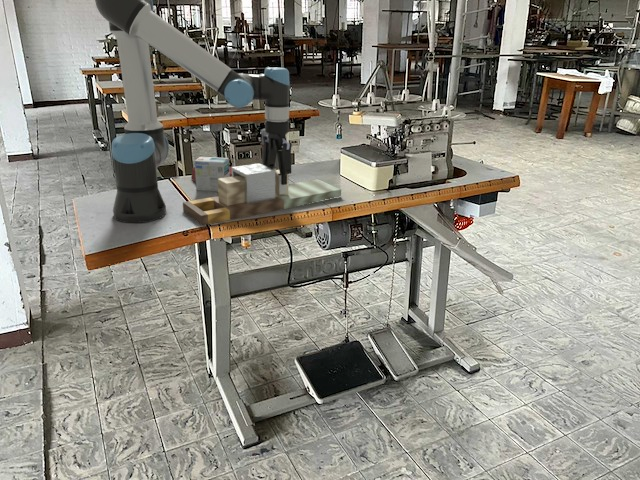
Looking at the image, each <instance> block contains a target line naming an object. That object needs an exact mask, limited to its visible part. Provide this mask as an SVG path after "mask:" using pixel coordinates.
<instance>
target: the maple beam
mask: <svg viewBox="0 0 640 480" xmlns="http://www.w3.org/2000/svg"><path fill="white" fill-rule="evenodd" d="M278 174H280V171H279V170H275V197H278V196H284V195H288V184H289V176H290V174H287V193H286V194H280V195H279V194H278ZM217 192H218V197H219V201H221V202H222V203H224V204H225V205H227V206H229V205H234V204H240V203H245V202H246V191H245V177H244V176H242V175H239V176H233V177H226V178H219V179H218V191H217Z"/></svg>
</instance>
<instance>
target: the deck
mask: <svg viewBox="0 0 640 480" xmlns="http://www.w3.org/2000/svg"><path fill="white" fill-rule="evenodd" d="M339 196H341V197H342V189H340V188H339V187H336V186H334V185H332V184H329V183H327V182H325V181H322V180H320V179H318V178H317V179H312V180H305V181H299V182H294V183H288V195H284V196H278V197H275V200H270V201H264V202H259V203H253V204H248V205H247V204H246V202H245V203H240V204H234V205H229V206H227V205H225V204H224V203H222V202H221V201H219V197H218V196H212V197H206V198H205V197H204V198H198V199H194V200H188V201H183V202H182V210H183V213H185V214H186V215H187V216H189V217H190V218H192V219H193V220H194V221H196V222H197V223H198V224H199V225H201V226H206V225H210V224H217V223H220V222H221V223H222V222H227V221H231V220H237V219H242V218H246V217H251V216H256V215H262V214H266V213H267V214H268V213H270V212H271V211H272V212H276V210H277V211H281V209H282V210H287V209H292V208H296V206H297V207H300V206H299V205H302V206H305V205H304V204H307V205H310V204H309V203H312V202H316V201H320V200H325V199H330V198H334V197H339ZM312 204H313V203H312Z"/></svg>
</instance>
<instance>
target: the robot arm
mask: <svg viewBox="0 0 640 480" xmlns="http://www.w3.org/2000/svg"><path fill="white" fill-rule="evenodd" d="M94 1H95V7H96V9H97V10H98V12H99V14H100V15H101V17H103V18H104V19H105V20H106V21H108V26H109V31H110V33H111V34H112V35H113V36H114V37H115V38H116V44H117V49H118V57H119V64H120V71H121V78H122V84H123V91H124V98H125V106H126V114H127V120H128V121H127V123H126V124H125V125H124V134H122V135H118V136H116V137H115V138H113V140H112V142H111V157H112V163H113V170H114V179H115V185H116V195H115V198H114V204H113V208H112V212H113V213H112V214H113V217H114V219H116V220H117V221H119V222H123V223H131V224H133V223H134V224H135V223H145V222H146V223H147V222H152V221H156V220H159V219H161V218H163V217H164V216H165V215H166V214H167V208H166V203H165V201H164V199H163V196H162V194H161V192H160V189H159V185H158V183H159V182H158V173H157V168H159V167H160V166H161V165H162V164H163V163H164V162H165V161H166V159H167V157H168V156H169V155H168V154H169V150H170V143H169V141H168V138H167V136H166V135H165V131H164V130H165V129H164V124H163V123H161V122H160V121H159V119H158V113H157V105H156V97H155V89H154V80H153V78H154V77H153V71H152V64H151V63H152V62H151V53H150V46H151V47H152V48H154V49H155V50H156V51H158V52H160V53H161V54H163V55H164V56H165V57H167V58H168V59H170V60H171V61H172V62H174V63H175V64H177V65H178V66H180V67H181V68H182V69H183V70H185V71H186V72H188V73H189V74H190V75H193V76H194V77H195V78H196V79H198V80H199V81H201V82H202V83H204V84H205V85H206V86H208V87H210V88H211V89H212V90H214V91H215V92H216V93H218V94H219V95H220V96H222V97H223V98H225V100H226V102H227V103H228V104H229V105H230V106H232V107H234V108H238V109H239V108H244V107H246V106H248V105H249V104H250V103H251V102H252V101H253V100H254V101H257V100H258V101H264V119H266V120H265V121H264V129H265V132H266V133H269V134H268V136H263V140H264V166H266V167H269V168H271V169H273V168H276V166H275V161H276V155H277V158H278V164H279V171H280V174H278V194H279V195H280V194H286V193H287V174H289V175H291V174H292V145H293V143H292V142H288V141H287V136H286V135H287V134H288V133H289V132H290V121H289V119H290V85H291V84H290V83H291V82H290V72H289V70H288V68H285V67H271V66H270V67H265V69H264V72H263V73H262V74H261V73H259V74H255V73H254V74H252V73H251V74H250V73H239V72H237V71H235V70H233V69H232V68H231V67H230V66H228V65H227V64H225V63H224V62H223V61H221V60H220V59H219V58H217V57H216V56H214V55H213V54H212V53H210V52H209V51H207V50H206V49H205V48H203V47H202V46H200V44H198V43H196V42H195V41H194V40H192V39H191V38H190V37H188V36H187V35H185V34H184V33H183V32H181V31H180V30H179V29H177V28H176V27H174V26H173V25H172V24H171V23H169V22H167V21H166V20H165V19H163V18H162V17H161V16H160V15H158V14H157V13H156V12H154V2H153V0H94ZM279 150H282V151H279ZM273 170H276V169H273Z"/></svg>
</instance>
